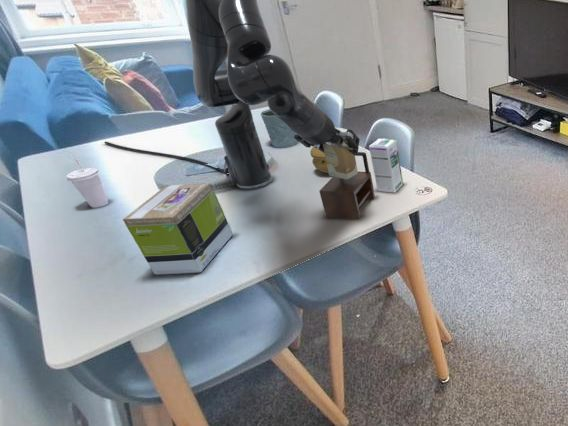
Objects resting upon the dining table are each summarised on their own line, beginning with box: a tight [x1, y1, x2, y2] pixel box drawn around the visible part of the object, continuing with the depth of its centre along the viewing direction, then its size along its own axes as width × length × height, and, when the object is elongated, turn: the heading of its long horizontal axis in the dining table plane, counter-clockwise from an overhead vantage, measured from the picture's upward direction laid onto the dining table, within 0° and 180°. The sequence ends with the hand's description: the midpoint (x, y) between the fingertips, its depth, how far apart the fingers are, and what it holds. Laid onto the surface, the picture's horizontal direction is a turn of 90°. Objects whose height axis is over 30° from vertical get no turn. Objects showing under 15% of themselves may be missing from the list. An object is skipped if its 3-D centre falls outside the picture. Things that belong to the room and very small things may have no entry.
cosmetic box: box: [323, 126, 359, 179], centre depth 108 cm, size 6×4×12 cm
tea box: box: [122, 182, 234, 276], centre depth 94 cm, size 15×10×15 cm, turn 5°
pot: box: [309, 146, 329, 174], centre depth 135 cm, size 12×12×10 cm
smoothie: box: [65, 156, 109, 209], centre depth 114 cm, size 6×6×14 cm
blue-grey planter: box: [260, 108, 299, 149], centre depth 154 cm, size 10×10×12 cm
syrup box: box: [368, 138, 404, 194], centre depth 123 cm, size 6×6×14 cm
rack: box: [319, 151, 376, 220], centre depth 113 cm, size 9×12×14 cm
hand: (341, 150), depth 109 cm, fingers closed on cosmetic box, 7 cm apart
